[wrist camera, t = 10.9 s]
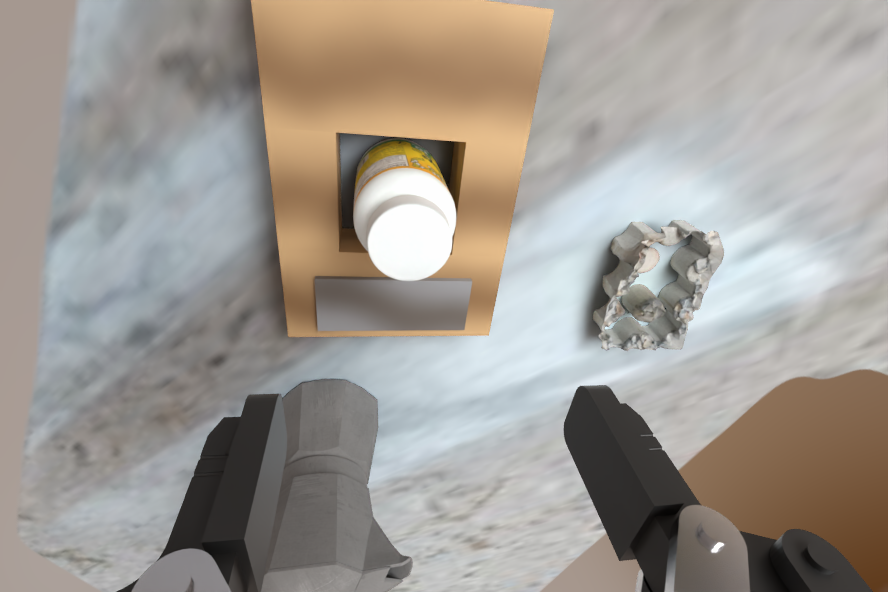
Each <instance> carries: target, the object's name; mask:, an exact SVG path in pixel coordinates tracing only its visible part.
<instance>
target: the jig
mask: <svg viewBox="0 0 888 592" xmlns="http://www.w3.org/2000/svg"><path fill="white" fill-rule="evenodd" d="M251 5H252V14H253V23H254V32H255V41H256V50H257V59H258V68H259V77H260V87H261V96H262V105H263V114H264V123H265V132H266V141H267V150H268V159H269V168H270V177H271V186H272V195H273V204H274V213H275V222H276V231H277V240H278V249H279V258H280V267H281V276H282V285H283V294H284V303H285V312H286V321H287V330H288V337H350V336H477V335H489V331H490V326H491V321H492V316H493V311H494V306H495V301H496V296H497V291H498V286H499V281H500V276H501V271H502V266H503V261H504V257H505V252H506V247H507V242H508V237H509V232H510V227H511V222H512V217H513V212H514V207H515V202H516V197H517V192H518V187H519V182H520V177H521V172H522V167H523V162H524V157H525V152H526V147H527V142H528V137H529V132H530V127H531V122H532V117H533V112H534V107H535V102H536V97H537V92H538V87H539V82H540V77H541V72H542V67H543V62H544V57H545V52H546V47H547V42H548V37H549V32H550V27H551V22H552V17H553V12H554V10H553V9H545V8H538V7H530V6H523V5H516V4H508V3H501V2H493V1H486V0H251ZM340 133H350V134H363V135H377V136H390V137H404V138H417V139H431V140H444V141H454V147H453V156H452V165H451V174H450V183H449V192H450V194H451V196H452V198H453V200H454V203H455V209H456V227H455V231H454V234H453V236H452V250H451V253H450V256H449V258H448V260H447V261H446V263H445V264H444V265H443V266H442V268H440V269H439V270H438V271H437V272H436V273H434V274H433V275H431V276H429V277H427V278H424V279H421V280H416V281H401V280H397V279H393V278H391V277H389V276H387V275H385V274H384V273H382V272H381V271H380V270H378V268H377V267H376V266H375V265H374V264H373V262H372V260H371V258H370V256H369V253H368V251H367V250H366V249H365V248H364V247H363V245H362V244H361V242H360V241H359V239H358V237H357V234H356V231H355V229H343V228H342V206H341V163H340Z"/></svg>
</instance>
